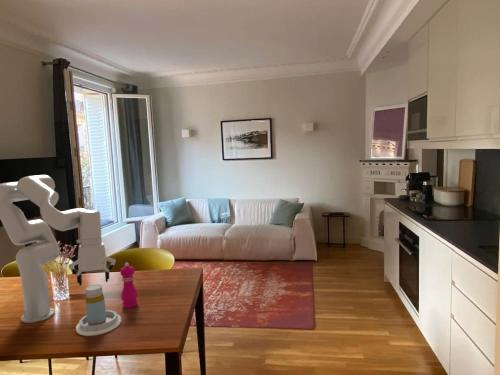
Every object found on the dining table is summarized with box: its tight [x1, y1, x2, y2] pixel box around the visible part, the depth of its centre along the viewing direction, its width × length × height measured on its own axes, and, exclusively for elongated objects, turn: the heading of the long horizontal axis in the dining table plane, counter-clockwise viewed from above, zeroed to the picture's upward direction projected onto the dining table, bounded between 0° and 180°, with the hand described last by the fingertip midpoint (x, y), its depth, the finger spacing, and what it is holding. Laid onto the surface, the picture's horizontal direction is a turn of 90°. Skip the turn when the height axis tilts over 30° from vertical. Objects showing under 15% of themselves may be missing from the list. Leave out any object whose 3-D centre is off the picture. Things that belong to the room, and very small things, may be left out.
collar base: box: [75, 309, 122, 337], centre depth 144 cm, size 17×17×3 cm
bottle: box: [84, 283, 107, 325], centre depth 143 cm, size 7×7×15 cm
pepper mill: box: [120, 262, 139, 309], centre depth 161 cm, size 7×7×20 cm
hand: (93, 282), depth 142 cm, fingers open, 9 cm apart
